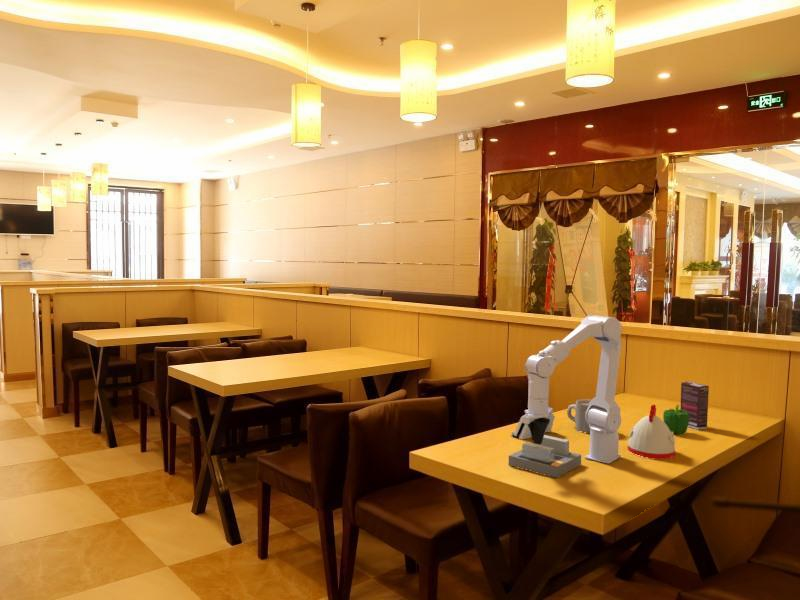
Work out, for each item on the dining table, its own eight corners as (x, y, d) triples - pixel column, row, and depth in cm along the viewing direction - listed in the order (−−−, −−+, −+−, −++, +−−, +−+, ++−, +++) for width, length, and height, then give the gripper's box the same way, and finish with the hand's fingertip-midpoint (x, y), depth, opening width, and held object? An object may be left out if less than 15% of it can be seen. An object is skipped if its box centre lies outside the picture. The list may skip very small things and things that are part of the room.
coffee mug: (609, 430, 221) (610, 403, 220) (594, 435, 215) (594, 407, 214) (577, 422, 231) (578, 396, 231) (561, 427, 225) (562, 400, 224)
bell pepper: (681, 437, 213) (682, 409, 212) (658, 432, 219) (660, 404, 219) (693, 433, 218) (694, 405, 218) (670, 428, 225) (671, 401, 224)
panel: (526, 465, 184) (526, 442, 183) (553, 472, 178) (554, 448, 177) (521, 467, 182) (522, 444, 181) (549, 474, 176) (550, 450, 175)
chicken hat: (677, 450, 200) (679, 404, 198) (671, 461, 188) (673, 413, 187) (632, 443, 207) (633, 398, 206) (624, 454, 195) (625, 407, 194)
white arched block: (539, 428, 224) (548, 404, 220) (549, 435, 220) (558, 411, 217) (509, 436, 213) (518, 411, 210) (519, 444, 210) (528, 418, 206)
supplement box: (707, 429, 224) (709, 385, 223) (697, 430, 222) (699, 386, 221) (688, 423, 232) (690, 381, 231) (678, 424, 230) (680, 382, 229)
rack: (534, 453, 195) (534, 431, 194) (581, 464, 184) (581, 441, 184) (508, 465, 183) (509, 442, 182) (556, 478, 173) (557, 453, 172)
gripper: (538, 391, 186) (537, 435, 187) (513, 399, 176) (512, 446, 177) (559, 394, 182) (558, 439, 183) (535, 403, 171) (534, 451, 172)
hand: (537, 443), depth 179 cm, fingers closed
